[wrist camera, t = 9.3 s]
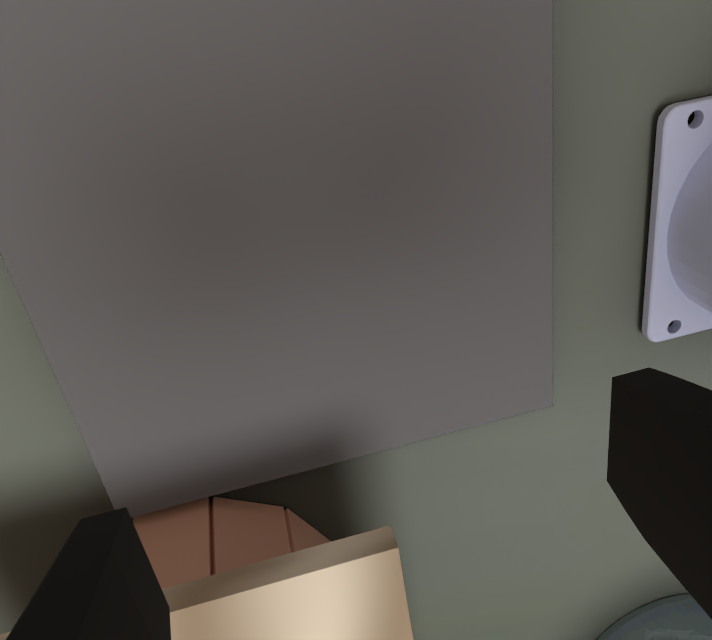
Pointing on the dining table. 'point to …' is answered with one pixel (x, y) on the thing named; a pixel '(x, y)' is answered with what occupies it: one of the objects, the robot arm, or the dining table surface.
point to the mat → (278, 226)
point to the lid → (300, 596)
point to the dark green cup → (663, 622)
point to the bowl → (219, 537)
